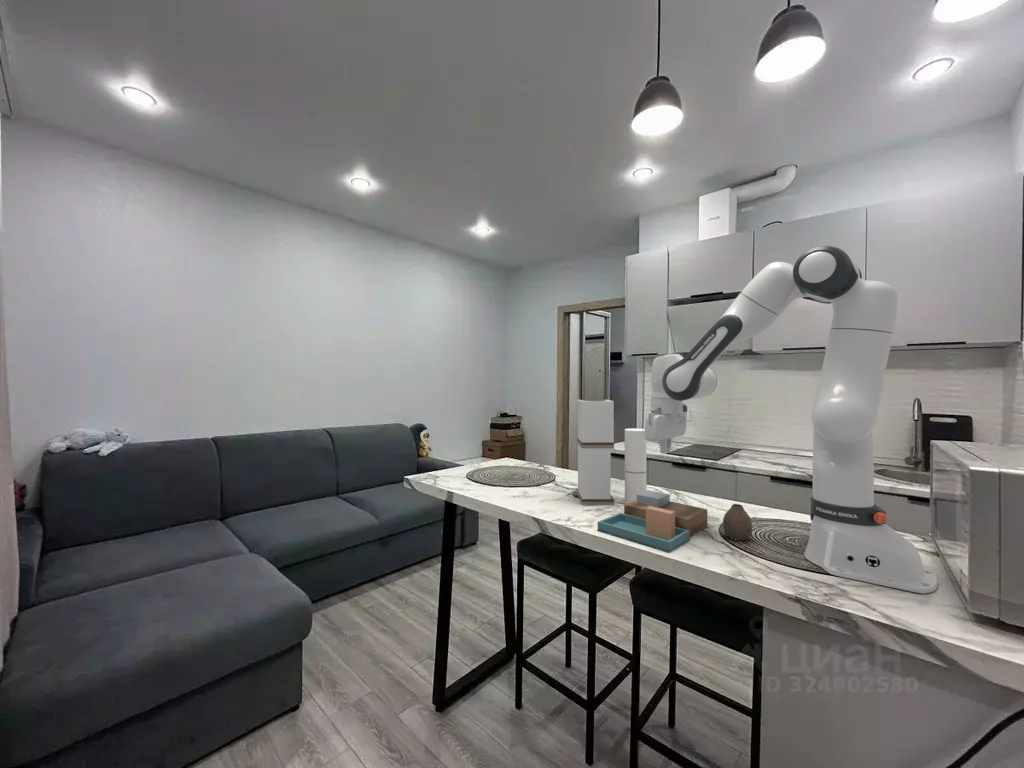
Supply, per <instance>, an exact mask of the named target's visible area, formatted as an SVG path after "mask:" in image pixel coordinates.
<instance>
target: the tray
mask: <svg viewBox="0 0 1024 768" xmlns="http://www.w3.org/2000/svg"><path fill="white" fill-rule="evenodd" d="M597 532H601V533H603V534H604V533H605V534H608V535H611V536H614V537H618V538H620V539H624V540H627V541H631V542H633V543H637V544H640V545H644V546H646V547H650V548H654V549H656V550H660V551H663V552H666V553H671V552H673V551H675V550H676V549H678V548H679V547H681V546H683V545H684V544H686V543H688V542H689V541H691V537H690V531H689V530H686V529H682V528H678V527H675V537H673V538H672V539H670V540H666V539H663V538H659V537H656V536H652V535H649V534H646V519H643V518H639V517H635V516H631V515H627V514H624V512H619V513H616V514H613V515H611V516H608V517H606V518H603V519H601V520H598V521H597Z"/></svg>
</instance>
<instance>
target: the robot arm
mask: <svg viewBox="0 0 1024 768" xmlns="http://www.w3.org/2000/svg"><path fill="white" fill-rule="evenodd" d="M862 276H863V275H862V272H861V269H860V268H859V266H858V265H857V262H856V261H855V259H853V258H852V256H850V255H849V254H847V253H846V251H844V250H843V249H842V248H839V247H836V246H831V245H820V246H816V247H815V246H814V247H813V248H810V249H808V250H806V251H805V252H804V253H802V254H801V255H800V256H799V257H798V259H797V260H796V261H795V264H794V265H793V264H791V263H788V262H784V261H774V262H773V261H772V262H770V263H769V264H767V265H766V266H764V268H763V269H761V270H760V271H759V272H757V274H756V275H755V276H754V277H753V278H752V279H751V280H750V281H749V282H748V283H747V284H746V286H744V287H743V289H742V290H741V292H739V294H738V295H737V296H736V297H735V299H734V300H733V302H732V303H731V305H729V307H728V308H727V309H726V311H725V312H724V313H723V314H722V316H721V317H720V318H719V319H717V321H716V323H715V324H713V326H711V327H710V329H709V330H708V331H706V333H705V334H704V335H703V336H702V337H701V339H699V341H698V342H697V343H695V345H694V346H693V347H692V349H690V351H689V352H688V353H687V354H686V355H685V356H684V357H683V356H682V355H681V354H679V353H674V352H673V353H664V354H661V355H658V356H657V357H655V358H654V359H653V361H652V365H651V375H650V376H651V378H650V384H651V388H652V391H651V394H650V411H649V413H648V415H647V416H646V418H645V421H644V422H645V424H644V429H645V433H644V436H645V439H646V441H650V442H658V445H659V447H660V454H662V455H663V454H664V455H666V454H669V453H671V446H672V444H673V438H677V437H682V436H684V435H685V433H686V430H687V413H688V411H689V407H688V405H687V404H685V403H684V402H683V401H687V400H690V399H691V400H692V399H699V398H704V397H707V396H709V395H711V394H712V393H714V391H715V389H716V388H717V386H718V385H717V384H718V379H717V375H716V373H715V371H714V370H713V369H711V368H710V367H711V366H712V365H713V364H714V363H715V361H717V360H718V359H719V358H720V357H721V355H722V354H723V353H724V352H725V351H726V350H727V349H729V348H731V346H733V345H735V344H737V343H739V342H741V341H742V342H743V341H744V340H748V339H751V338H755V337H758V336H759V335H761V334H762V333H764V332H765V331H766V330H767V329H769V327H771V325H773V324H774V323H775V322H776V321H777V319H778V318H779V317H780V316H781V315H782V313H784V311H785V310H786V309H787V308H788V307H789V305H791V304H792V303H793V302H794V301H795V300H797V299H801V298H802V299H803V300H807V301H813V302H818V303H820V304H829V305H831V306H832V308H833V309H832V310H833V315H832V320H831V325H830V330H829V332H828V333H829V334H828V339H827V343H826V348H825V352H824V353H825V354H824V357H823V363H822V367H821V371H820V375H819V380H818V385H817V388H816V394H815V397H814V401H813V407H812V411H811V423H812V426H813V439H812V440H813V442H812V443H813V445H812V446H813V447H812V496H811V497H810V500H809V518H810V521H811V524H810V529H809V530H810V531H809V536H808V537H809V538H808V541H807V545H806V547H805V550H804V552H803V555H804V557H805V558H806V560H808V561H809V562H811V563H813V564H815V565H817V566H818V567H820V568H822V569H823V570H824V571H825V572H826V573H829V574H830V575H831V576H832V575H833V576H837V577H841V578H846V579H850V580H856V581H860V582H865V583H870V584H874V585H879V586H883V587H889V588H894V589H899V590H903V591H907V592H912V593H917V594H930V593H932V592H934V591H936V590H937V588H938V586H939V585H938V578H937V575H936V574H935V573H934V572H933V571H932V570H930V569H928V568H927V567H924V566H923V561H922V558H921V555H920V553H919V551H918V549H917V547H916V546H915V545H914V544H913V543H912V542H911V541H910V540H908V539H906V537H904V536H902V535H901V534H899V532H897V531H896V530H894V529H893V528H891V527H890V526H889V525H888V524H887V520H888V517H887V511H886V509H885V508H884V507H882V508H881V507H880V506H878V505H876V504H875V501H874V499H875V493H874V492H875V491H874V490H875V483H874V481H875V476H874V475H875V474H874V473H875V466H874V465H875V464H874V447H873V446H874V444H873V443H874V442H873V441H874V439H873V431H874V429H875V426H876V423H877V417H878V413H879V407H880V403H881V397H882V392H883V387H884V386H883V385H884V380H885V376H886V375H885V374H886V369H887V363H888V359H889V355H890V350H891V346H892V341H893V337H894V333H895V327H896V322H897V313H898V299H897V298H898V295H897V290H896V289H895V288H894V287H893V286H892V285H891V284H888V283H886V282H884V281H879V280H866V279H863V277H862Z"/></svg>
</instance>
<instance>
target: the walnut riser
mask: <svg viewBox="0 0 1024 768" xmlns="http://www.w3.org/2000/svg"><path fill="white" fill-rule="evenodd" d="M647 507H649V505H645V504H640V503H637V500H635V501H633V502H630V503H625V504H624V505H623V513H624V514H627V515H631V516H635V517H639V518H643V519H646V508H647ZM657 508H658V507H657ZM659 508H661V509H666V510H670V511H674V512H675V527H678V528H682V529H686V530H689V531H690V538H691V537H693V536H694V535H696V534H698V533H700V532H701V531H702V530H704V529H706V528H708V508H703V507H699V506H693V505H688V504H684V503H679V502H675V501H671V500H670V503H668V504H666V505H663V506H661V507H659Z"/></svg>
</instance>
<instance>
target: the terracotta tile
mask: <svg viewBox="0 0 1024 768" xmlns="http://www.w3.org/2000/svg"><path fill="white" fill-rule="evenodd" d="M646 534H649V535H652V536H656V537H659V538H663V539H666V540H670V539H672V538H673V537H675V512H674V511H670V510H666V509H661V508H657V507H653V506H649V507H647V508H646Z"/></svg>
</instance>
